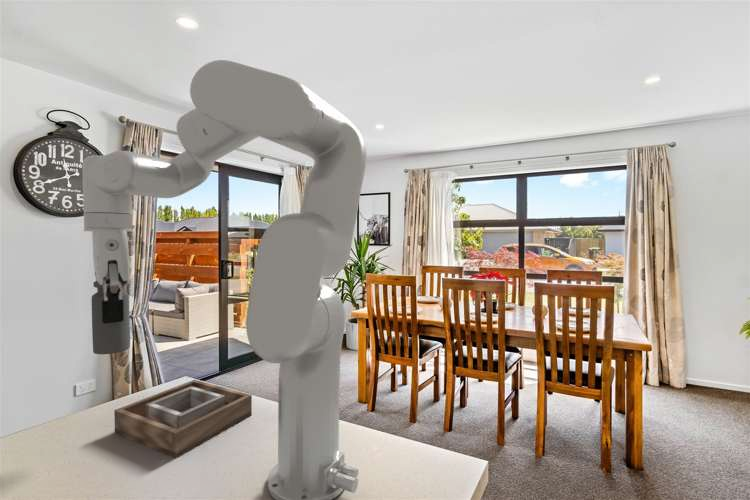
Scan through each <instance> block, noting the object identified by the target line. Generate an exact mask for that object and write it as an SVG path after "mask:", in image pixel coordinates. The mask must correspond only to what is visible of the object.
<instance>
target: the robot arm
mask: <svg viewBox="0 0 750 500" xmlns="http://www.w3.org/2000/svg"><path fill="white" fill-rule="evenodd" d="M189 86H190V88H189V95H190V98H191V102H192V103H193V106H194V107H195V108H193V109H191V110H190V111H188V112H186V113H184V114H183V115H181V116H180V118H179V119H178V120H177V122H176V134H177V137H178V140H179V142H180V144H181V145H182V147H183V148H184V150H185V151H182V152H181V153H179V154H177V155H176V156H174V157H172V158H169V159H166V158H162V157H157V156H152V155H149V154H142V153H140V152H139V153H138V152H134V151H130V150H116V151H113V152H110V153H107V154H105V155H89V156H87V157H85V158H84V159H83V160H82V164H81V165H82V166H81V167H82V168H81V169H82V173H81V174H82V199H83V200H82V201H83V204H82V205H83V206H82V207H83V228H84V229H83V231H84V232H92V235H91V236H92V239H91V240H92V255H93V256H92V257H93V258H92V259H93V268H94V269H93V270H94V274H95V273H96V276H95V281H97V282H98V284H100V285H102V286H103V297H104V301H102V322H103V323H114V322H122V321H123V320H124V310H123V300H122V287H121V285H122V284H121V280H122V281H126V282H125V284H126V285H128V284H129V283H131V281H132V279H131V267H130V253H129V252H130V250H129V240H128V238H129V237H128V232H133V198H132V196H137V197H149V198H158V199H171V198H172V199H173V198H176V197H180V196H182V195H184V194H186V193H188V192H190V191H192V190H194V189H196V188H197V187H199V186H201V185H202V184H203V183H205V181H206V180H207V179H208V178H209V176H210V175H211V173H212V171H213V169H214V166H215V162H216V161H218V160H220V159H221V158H224V156H226V155H228V154H230V153H232V152H233V151H235V150H237V149H239V148H241V147H243V146H244V145H246V144H248V143H250V142H251V141H253V140H255V139H257V138H259V137H261V138H263V139H265V140H268V141H271V142H273V143H276V144H278V145H280V146H283V147H286V148H288V149H290V150H292V151H295V152H298V153H301V154H303V155H306V156H307V157H310V158H312V160H313V161H314V162H313V163H314V164H313V167H312V168H311V169H310V172H309V174H308V176H307V177H306V181H305V184H304V187H303V188H304V189H303V196H302V200H301V201H302V202H301V205H300V209H299V210H300V211H299V212H296V213H294V212H293V213H288V214H285V215H282V216H280V217H278V218H277V219H275V220H274V221H273V222H272V223H270V224H269V226H268V227H267V228H266V229H265V231H264V232H263V235H262V237H261V239H260V241H259V243H258V246H257V249H256V250H257V251H256V256H255V260H254V261H255V262H254V266H253V267H254V268H253V273H252V278H251V286H250V293H249V297H248V298H249V299H248V304H247V311H246V318H245V320H246V322H245V326H246V327H245V328H246V329H245V330H246V335H247V339H248V342H249V345H250V347H251V349H252V350H253V351H254V352H253V353H255V354H256V355H257V356H258V357H259V358H261V359H262V360H263V361H265V362H268V363H271V364H279V371H278V393H277V395H278V396H277V397H278V403H277V406H278V407H277V410H278V414H277V416H278V417H277V418H278V419H277V421H278V422H277V423H278V427H277V428H278V430H277V433H278V435H277V436H278V437H277V450H278V451H277V463H276V464H275V465H274V466H273V467H272V468H271V470H270V471H269V473H268V475H267V488H268V493H269V494H270V495H271V497H272V498H273V499H274V500H333V499H335V498H336V497H338V496H339V495H340V494H342V492H343V491H344V490H345V491H347V492H349V493H352V494H354V493H356V490H357V489H358V485H359V479H358V476H359V469H358V468H356V467H353V466H348V465H347V464H346V463H345V452H343V451H341V450H340V449H339V448H340V447H339V445H340V444H339V443H340V442H339V440H340V436H339V435H340V430H339V429H340V426H339V425H340V384H341V381H340V379H341V378H340V377H341V358H342V357H341V355H342V348H343V347H342V346H343V339H344V331H345V325H346V323H345V322H346V312H345V307H344V304H343V300H342V299H341V297H340V295H339V294H338V293H337V292H336V291H335V290H334V289H333V288H331V287H330V286H328V285H326V284H323V283H321V280H322V279H326V278H329V277H333V276H335V275H336V274H339V273H340V272H341V271H342V270H343V269H344V268H345V267H346V265H347V263H348V262H349V259H350V255H351V251H352V250H351V249H352V244H353V238H354V232H355V228H356V221H357V218H358V217H357V216H358V210H359V203H360V197H361V193H362V187H363V182H364V177H365V173H366V165H367V151H366V150H367V149H366V145H365V142H364V140H363V139H364V138H363V137H362V135H361V133H360V131H359V129H357V127H356V126H355V125H354V124H353V123H352V122H351V121H350V119H348V118H347V117H346V116H344V115H343V114H342V113H341V112H339V111H338V110H337V109H336V108H334V107H333V106H332V105H330V104H329V103H328V102H326V101H325V100H324V99H322V98H321V97H319V95H317V94H316V93H314V92H313V91H312V90H310V89H309V88H308V87H306V86H305V85H304V84H302V83H301V82H298V81H296V80H294V79H293V78H291V77H287V76H284V75H282V74H278V73H275V72H274V73H273V72H272V71H268V70H264V69H259V68H257V67H252V66H251V65H250V66H249V65H245V64H243V63H239V62H236V61H232V60H227V59H226V60H225V59H218V60H213V61H210V62H208V63H205V64H203V66H200V68H199V69H198V70H197V71H196V72H195V74H194V75H193V77H192V79H191V82H190V85H189ZM105 276H106V280H105ZM121 277H122V279H121ZM96 278H97V280H96ZM106 281H110V283H107V284H106ZM107 288H108V289H107Z"/></svg>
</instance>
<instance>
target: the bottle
mask: <svg viewBox="0 0 750 500" xmlns="http://www.w3.org/2000/svg"><path fill="white" fill-rule="evenodd" d="M94 275H95V281H93V284H92V285H93V288H96V289H97V292H96V293H93V294H92V295H91V327H92V329H91V333H92V335H91V336H92V353H93V354H94V355H112V354H117V353H122V352H124V351H127V350H129V349H130V348H131V332H130V331H131V329H130V294H129V292H127V291H125V290H124V286H127V284H125V282H126V281H122V280H121V284H122V285H121V287H122V300H123V310H124V320H123V321H122V322H114V323H103V322H102V301H104V297H103V286H102V285H100V284H98V282H97V281H96V280H97V278H96V273H95V272H94ZM121 279H122V277H121ZM105 280H106V276H105ZM107 283H110V281H106V284H107ZM107 289H108V288H107Z"/></svg>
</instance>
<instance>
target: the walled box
mask: <svg viewBox="0 0 750 500" xmlns="http://www.w3.org/2000/svg"><path fill="white" fill-rule="evenodd" d="M252 396H253V395H252V394H249V393H244V392H241V391H238V390H235V389H230V388H227V387H223V386H219V385H215V384H212V383H209V382H205V381H201V380H197V379H193V380H190V381H187V382H185V383H182V384H179V385H177V386H175V387H171V388H169V389H166V390H164V391H162V392H159V393H156V394H154V395H150V396H148V397H146V398H142V399H140V400H137V401H135V402H132V403H130V404H127V405H124V406H122V407H119V408H117V409H115V410H114V433H115V434H116V435H119V436H122V437H123V438H126V439H128V440H131V441H133V442H136V443H138V444H140V445H143V446H145V447H147V448H149V449H152V450H154V451H157V452H160V453H162V454H164V455H166V456H168V457H171V458H174V459H177V458H179V457H181V456H182V455H184V454H186V453H188V452H189V451H192V450H194V449H195V448H197V447H199V446H201V445H202V444H204V443H206V442H208V441H209V440H211V439H212V438H214V437H216V436H218V435H219V434H222V433H223V432H225V431H227V430H228V429H229V430H230V428H232V427H234V426H235V425H238V424H239V423H241V422H243V421H245V420H246V419H248V418H250V417H251V416H252V410H253V409H252V405H253V404H252V398H253V397H252Z"/></svg>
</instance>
